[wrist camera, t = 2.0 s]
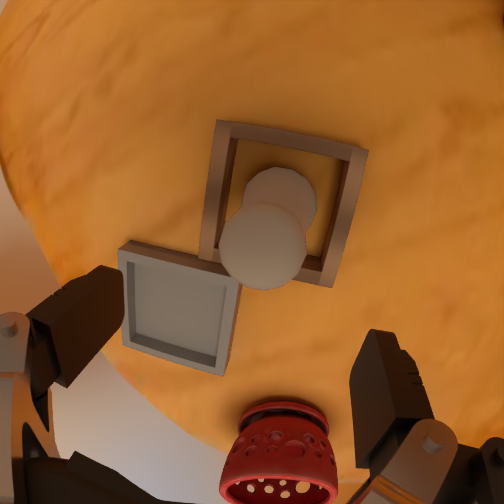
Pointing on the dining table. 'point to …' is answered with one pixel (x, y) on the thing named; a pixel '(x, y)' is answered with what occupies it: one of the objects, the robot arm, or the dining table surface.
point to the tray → (178, 306)
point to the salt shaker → (269, 230)
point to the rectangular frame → (355, 157)
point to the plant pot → (280, 456)
